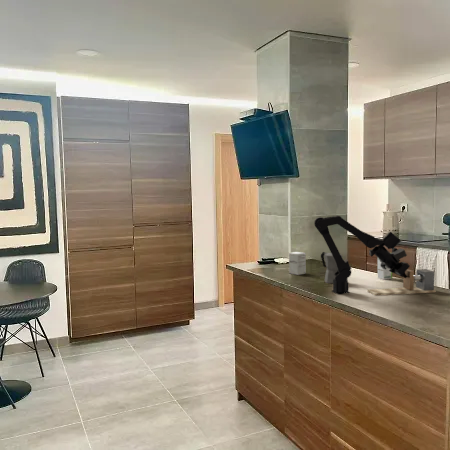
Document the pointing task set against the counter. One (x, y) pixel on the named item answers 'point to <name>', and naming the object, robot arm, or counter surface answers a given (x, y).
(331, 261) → the coffeepot
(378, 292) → the birch base plate
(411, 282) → the wooden block with shaft
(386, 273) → the syrup box
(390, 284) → the counter surface
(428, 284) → the bearing block
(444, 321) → the counter surface
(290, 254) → the supplement box
